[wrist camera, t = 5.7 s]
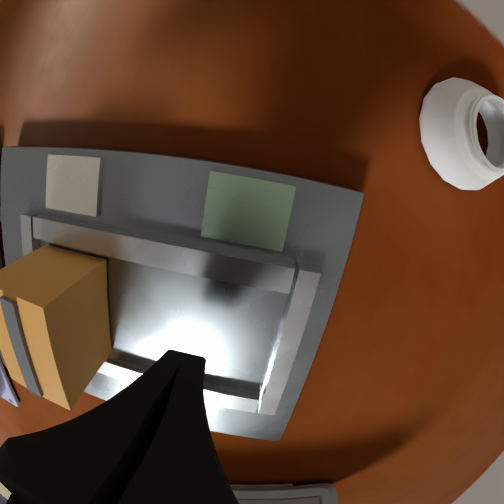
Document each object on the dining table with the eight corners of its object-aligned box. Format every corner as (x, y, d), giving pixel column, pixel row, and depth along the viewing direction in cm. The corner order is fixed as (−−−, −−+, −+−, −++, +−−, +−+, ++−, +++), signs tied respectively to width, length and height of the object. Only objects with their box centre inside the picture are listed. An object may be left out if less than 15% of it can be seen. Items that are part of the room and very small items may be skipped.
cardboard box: (57, 331, 13) (9, 380, 9) (46, 244, 12) (-22, 282, 7) (111, 351, 13) (68, 413, 9) (106, 259, 12) (39, 310, 7)
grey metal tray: (38, 356, 16) (24, 370, 14) (17, 145, 11) (-6, 148, 10) (279, 426, 16) (279, 448, 14) (355, 189, 11) (369, 195, 10)
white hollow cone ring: (449, 61, 9) (394, 129, 10) (484, 47, 6) (428, 125, 8) (507, 139, 10) (461, 209, 11) (545, 142, 7) (499, 225, 8)
